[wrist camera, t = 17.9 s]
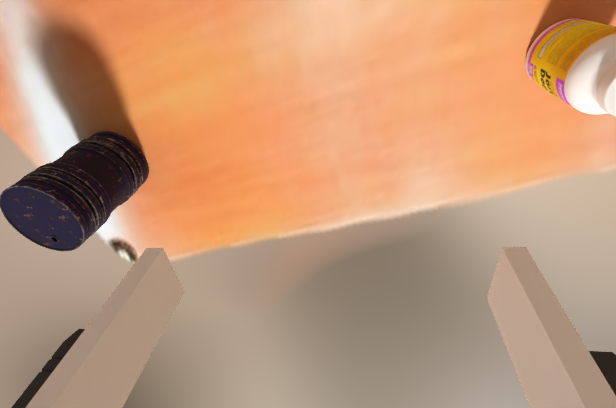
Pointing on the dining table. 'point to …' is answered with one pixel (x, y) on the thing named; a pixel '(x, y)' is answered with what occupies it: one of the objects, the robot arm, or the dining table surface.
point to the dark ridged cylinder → (75, 191)
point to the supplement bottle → (577, 64)
